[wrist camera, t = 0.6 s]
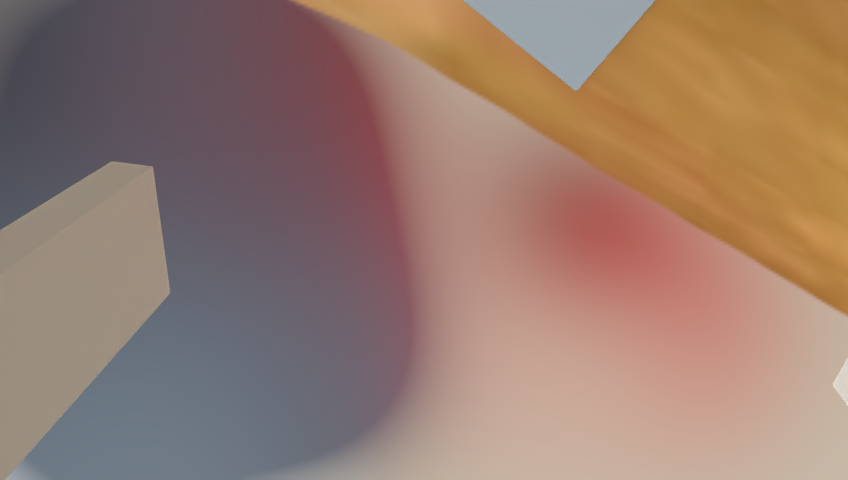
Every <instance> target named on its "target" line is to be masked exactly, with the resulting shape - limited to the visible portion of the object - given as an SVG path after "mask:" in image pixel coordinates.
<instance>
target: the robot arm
mask: <svg viewBox="0 0 848 480" xmlns="http://www.w3.org/2000/svg"><path fill="white" fill-rule="evenodd" d="M169 294H170V288H169V281H168V274H167V266H166V259H165V252H164V245H163V237H162V230H161V223H160V216H159V209H158V201H157V194H156V188H155V180H154V173H153V167H152V166H145V165H137V164H129V163H121V162H114V161H113V162H110V163H108V164H107V165H105V166H104V167H102V168H100V169H99V170H97V171H95V172H94V173H92V174H91V175H89V176H87V177H86V178H84V179H82V180H81V181H79V182H78V183H76V184H74V185H73V186H71V187H70V188H68V189H66V190H65V191H63V192H61V193H60V194H58V195H57V196H55V197H53V198H52V199H50V200H49V201H47V202H45V203H44V204H42V205H40V206H39V207H37V208H36V209H34V210H32V211H31V212H29V213H28V214H26V215H24V216H23V217H21V218H19V219H18V220H16V221H15V222H13V223H11V224H10V225H8V226H7V227H5V228H3V229H1V230H0V480H5V479H6V478H7V477H8V476H9V475H10V474H11V472H12V471H13V470H14V469H15V468H16V467H17V465H18V464H19V463H20V462H21V461H22V460H23V459H24V458H25V457H26V455H27V454H28V453H29V452H30V451H31V450H32V449H33V448H34V446H35V445H36V444H37V443H38V442H39V441H40V440H41V438H42V437H43V436H44V435H45V434H46V433H47V432H48V431H49V429H50V428H51V427H52V426H53V425H54V424H55V423H56V422H57V420H58V419H59V418H60V417H61V416H62V415H63V414H64V412H65V411H66V410H67V409H68V408H69V407H70V406H71V405H72V403H73V402H74V401H75V400H76V399H77V398H78V397H79V396H80V394H81V393H82V392H83V391H84V390H85V388H87V386H88V385H89V384H90V383H91V382H92V381H93V380H94V379H95V377H96V376H97V375H98V374H99V373H100V372H101V371H102V369H103V368H104V367H105V366H106V365H107V364H108V363H109V362H110V360H111V359H112V358H113V357H114V356H115V355H116V354H117V353H118V351H119V350H120V349H121V348H122V347H123V346H124V345H125V344H126V342H127V341H128V340H129V339H130V338H131V337H132V335H133V334H134V333H135V332H136V331H137V330H138V329H139V328H140V326H141V325H142V324H143V323H144V322H145V321H146V320H147V319H148V317H149V316H150V315H151V314H152V313H153V312H154V311H155V310H156V308H157V307H158V306H159V305H160V304H161V303H162V302H163V301H164V299H165V298H166V297H167V296H168V295H169ZM833 387H834V388H835V389H836V391H837V392H838V394H839V395H840V396H841V398H842V399H843V400H844V402H845V403H846V405H847V406H848V358H847V359H846V361H845V363H844V365H843V367H842V369H841V370H840V372H839V374H838V376H837V378H836V379H835V381H834V383H833Z"/></svg>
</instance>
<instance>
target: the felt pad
mask: <svg viewBox="0 0 848 480" xmlns="http://www.w3.org/2000/svg"><path fill="white" fill-rule="evenodd" d="M463 1H464V2H466V3H467V4H468V5H469V6H471V7H472V8H473V9H474V10H476V11H477V12H478V13H479V14H481V15H482V16H483V17H484V18H486V19H487V20H488V21H489V22H491V23H492V24H493V25H494V26H496V27H497V28H498V29H499V30H500V31H502V32H503V33H504V34H505V35H507V36H508V37H509V38H510V39H512V40H513V41H514V42H515V43H517V44H518V45H519V46H520V47H522V48H523V49H524V50H525V51H527V52H528V53H529V54H530V55H532V56H533V57H534V58H535V59H536V60H538V61H539V62H540V63H541V64H543V65H544V66H545V67H546V68H548V69H549V70H550V71H551V72H553V73H554V74H555V75H556V76H558V77H559V78H560V79H561V80H563V81H564V82H565V83H566V84H567V85H569V86H570V87H571V88H572V89H574V90H575V91H577V90H578V89H579V88H580V86H581V85H582V84H583V83H584V82H585V81H586V80H587V78H588V77H589V76H590V75H591V74H592V73H593V71H594V70H595V69H596V68H597V67H598V66H599V65H600V63H601V62H602V61H603V60H604V59H605V58H606V56H607V55H608V54H609V53H610V52H611V51H612V50H613V48H614V47H615V46H616V45H617V44H618V43H619V41H620V40H621V39H622V38H623V37H624V36H625V35H626V33H627V32H628V31H629V30H630V29H631V28H632V26H633V25H634V24H635V23H636V22H637V21H638V20H639V18H640V17H641V16H642V15H643V14H644V13H645V11H646V10H647V9H648V8H649V7H650V6H651V5H652V3H653V2H654V1H655V0H463Z"/></svg>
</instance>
